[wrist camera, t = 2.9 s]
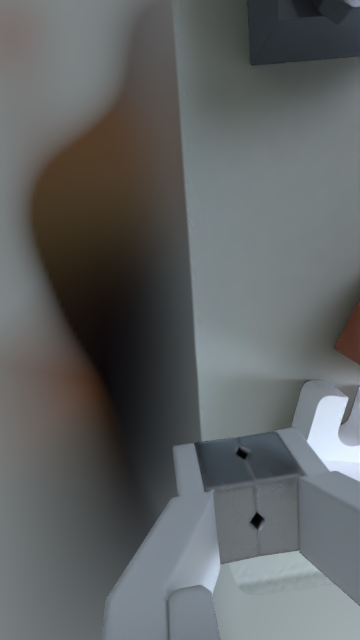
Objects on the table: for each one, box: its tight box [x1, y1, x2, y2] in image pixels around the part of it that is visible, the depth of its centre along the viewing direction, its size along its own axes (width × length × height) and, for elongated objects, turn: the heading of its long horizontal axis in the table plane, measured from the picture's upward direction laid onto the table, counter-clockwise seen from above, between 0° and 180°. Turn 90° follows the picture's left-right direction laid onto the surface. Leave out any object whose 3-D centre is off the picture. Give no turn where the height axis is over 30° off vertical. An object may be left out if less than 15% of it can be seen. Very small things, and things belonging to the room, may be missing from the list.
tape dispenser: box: [291, 380, 360, 481], centre depth 34 cm, size 10×18×11 cm, turn 170°
